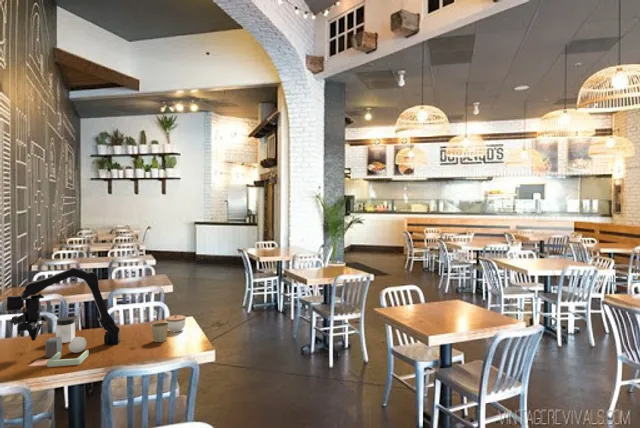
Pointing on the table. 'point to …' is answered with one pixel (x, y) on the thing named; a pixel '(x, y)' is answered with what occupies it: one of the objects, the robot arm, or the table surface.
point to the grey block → (53, 346)
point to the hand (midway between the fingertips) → (33, 340)
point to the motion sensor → (77, 344)
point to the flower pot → (159, 331)
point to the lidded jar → (176, 322)
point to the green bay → (66, 360)
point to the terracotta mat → (39, 363)
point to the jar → (65, 329)
